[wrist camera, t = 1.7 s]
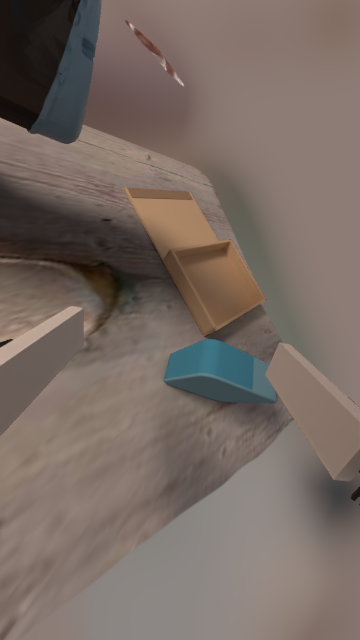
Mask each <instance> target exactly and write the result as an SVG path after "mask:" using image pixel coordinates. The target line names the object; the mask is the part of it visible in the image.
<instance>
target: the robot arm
mask: <svg viewBox="0 0 360 640" xmlns="http://www.w3.org/2000/svg"><path fill="white" fill-rule="evenodd" d="M100 14H101V0H0V118H2V119H5V120H7V121H9V122H12V123H14V124H16V125H19V126H21V127H23V128H25V129H27V131H28V132H29V133H31V134H37V133H38V134H40V135H43V136H45V137H48V138H50V139H53V140H56V141H58V142H61V143H65V144H70V143H72V142H75V141H76V139H77V138H78V137H79V135H80V132H81V129H82V125H83V120H84V116H85V111H86V106H87V100H88V96H89V90H90V84H91V78H92V71H93V58H94V56H95V49H96V43H97V38H98V31H99V23H100ZM83 346H84V308H80V307H74V306H70V307H68V308H67V309H65V310H63V311H62V312H60V313H58V314H57V315H55V316H53V317H51V318H50V319H48V320H46V321H45V322H43V323H41V324H40V325H38V326H36V327H35V328H33V329H31V330H29V331H28V332H26V333H24V334H23V335H21V336H19V337H18V338H16V339H14V340H13V339H9V340H6V341H3V342H0V436H1V435H2V434H3V433H4V432H5V431H6V429H7V428H8V427H9V426H10V425H11V424H12V423H13V422H14V421H15V420H16V419H17V418H18V416H19V415H20V414H21V413H22V412H23V411H24V410H25V409H26V408H27V407H28V406H29V404H30V403H31V402H32V401H33V400H34V399H35V398H36V397H37V396H38V395H39V394H40V393H41V391H42V390H43V389H44V388H45V387H46V386H47V385H48V384H49V383H50V382H51V381H52V379H53V378H54V377H55V376H56V375H57V374H58V373H59V372H60V371H61V370H62V369H63V368H64V366H65V365H66V364H67V363H68V362H69V361H70V360H71V359H72V358H73V357H74V356H75V354H76V353H77V352H78V351H79V350H80V349H81V348H82V347H83ZM265 375H266V377H267V378H268V380H269V381H270V383H271V385H272V386H273V388H274V389H275V391H276V392H277V394H278V395H279V397H280V398H281V400H282V401H283V403H284V404H285V406H286V407H287V409H288V411H289V412H290V414H291V415H292V417H293V418H294V420H295V421H296V423H297V424H298V426H299V427H300V429H301V430H302V432H303V433H304V435H305V436H306V438H307V440H308V441H309V443H310V444H311V446H312V447H313V449H314V450H315V451H316V453H317V455H318V456H319V458H320V459H321V461H322V462H323V464H324V466H325V467H326V469H327V470H328V472H329V473H330V475H331V476H332V478H333V479H334V480H343V481H351V480H352V479H353V478H354V477H355V476H356V475H357V474H358V473H359V472H360V408H359V407H358V406H357V405H356V404H355V403H354V402H353V401H352V400H351V399H350V398H348V397H347V396H346V395H345V394H344V393H342V391H341V390H339V389H338V388H337V387H336V386H335V385H334V384H333V383H332V382H331V381H330V380H329V379H327V378H326V377H325V376H324V375H323V374H322V373H321V372H320V371H319V370H317V369H316V368H315V367H314V366H313V365H312V364H311V363H310V362H309V361H308V360H307V359H306V358H304V357H303V356H302V355H301V354H300V353H299V352H298V351H297V350H296V349H295V348H293V347H292V346H291V345H290V344H285V343H279V345H278V347H277V349H276V351H275V354H274V356H273V358H272V360H271V362H270V365H269V367H268V369H267V371H266V374H265ZM358 497H360V487H359V488H358V489H357V490H356V491H355V492H354V493H353V494H352V496H351V499H352V500H354V501H355V500H356V499H357V498H358ZM359 505H360V504H359Z"/></svg>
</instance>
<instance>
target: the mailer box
mask: <svg viewBox="0 0 360 640" xmlns="http://www.w3.org/2000/svg"><path fill="white" fill-rule="evenodd" d="M124 192H125V193H126V195H127V197H128V199H129V201H130V203H131V204H132V206H133V208H134V210H135V212H136V213H137V215H138V217H139V219H140V221H141V223H142V224H143V226H144V228H145V230H146V232H147V233H148V235H149V237H150V239H151V241H152V243H153V244H154V246H155V248H156V250H157V252H158V254H159V255H160V257H161V259H162V261H163V263H164V264H165V266H166V268H167V270H168V272H169V274H170V275H171V277H172V279H173V281H174V283H175V284H176V286H177V288H178V290H179V292H180V294H181V295H182V297H183V299H184V301H185V303H186V305H187V306H188V308H189V310H190V312H191V314H192V315H193V317H194V319H195V321H196V323H197V325H198V326H199V328H200V330H201V332H202V334H203V335H204V336H206V335H208V334H210V333H213V332H215V331H217V330H218V329H220V328H222V327H223V326H225V325H227V324H228V323H230V322H232V321H233V320H235V319H236V318H238V317H240V316H241V315H243V314H245V313H246V312H248V311H250V310H251V309H253V308H254V307H256V306H258V305H259V304H261V303H263V302H264V301H266V298H265V297H264V295H263V293H262V292H261V290H260V288H259V287H258V285H257V283H256V281H255V280H254V278H253V276H252V275H251V273H250V271H249V270H248V268H247V266H246V264H245V263H244V261H243V259H242V258H241V256H240V254H239V253H238V251H237V249H236V247H235V246H234V244H233V242H232V241H231V239H228V240H222V241H218V239H217V238H216V236H215V234H214V232H213V231H212V229H211V227H210V226H209V224H208V222H207V220H206V219H205V217H204V215H203V214H202V212H201V210H200V208H199V207H198V205H197V203H196V202H195V200H194V198H193V196H192V195H191V193H190V192H183V191H168V190H153V189H138V188H124Z"/></svg>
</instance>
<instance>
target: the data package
mask: <svg viewBox="0 0 360 640" xmlns="http://www.w3.org/2000/svg"><path fill="white" fill-rule="evenodd" d="M269 365H270V364H268V363H266V362H264V361H262V360H259V359H257V358H255V357H253V356H251V355H249V354H247V353H245V352H243V351H241V350H238V349H236V348H234V347H232V346H230V345H228V344H226V343H224V342H222V341H219V340H215V339H206V340H203V341H200V342H198V343H195V344H193V345H191V346H188V347H186V348H184V349H181V350H179V351H177V352H174V353H172V354H171V355H170V358H169V362H168V366H167V369H166V373H165V377H164V382H165V383H166V384H168V385H171V386H174V387H177V388H180V389H183V390H186V391H189V392H192V393H195V394H198V395H201V396H204V397H207V398H210V399H213V400H216V401H221V402H243V403H275V402H276V391H275V389H274V388H273V386H272V385H271V383H270V381H269V380H268V378H267V377H266V375H265V374H266V371H267V369H268V367H269Z"/></svg>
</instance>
